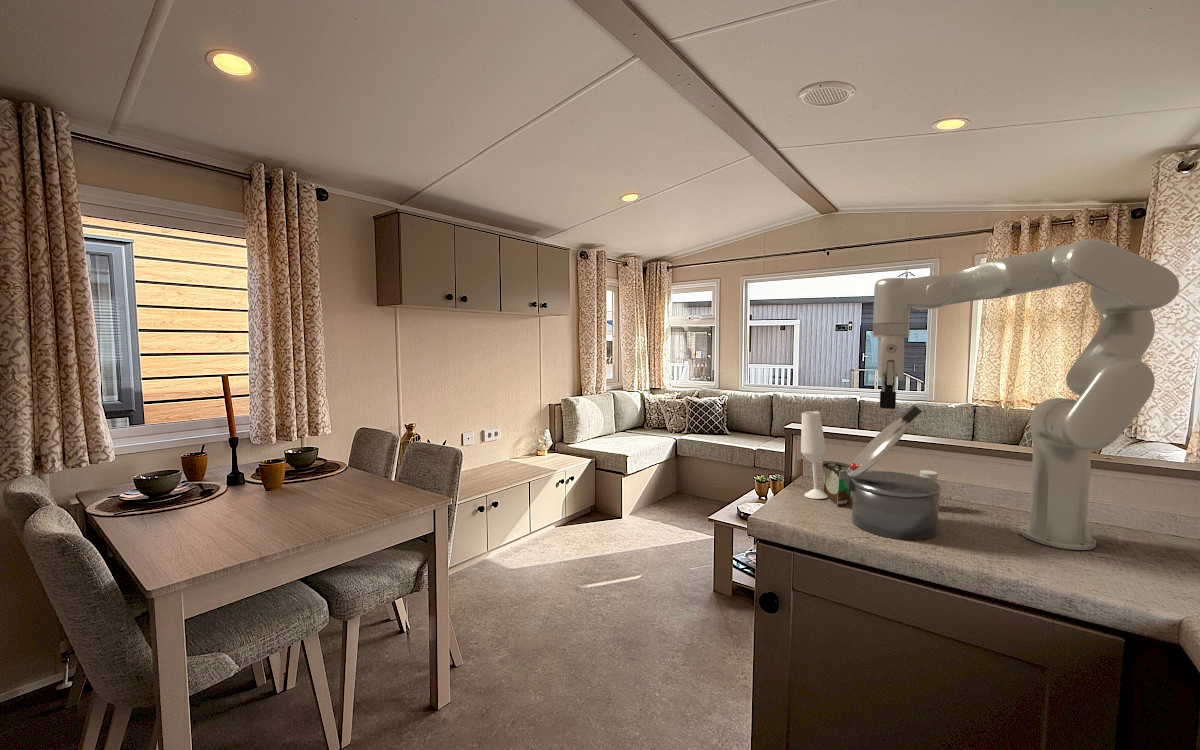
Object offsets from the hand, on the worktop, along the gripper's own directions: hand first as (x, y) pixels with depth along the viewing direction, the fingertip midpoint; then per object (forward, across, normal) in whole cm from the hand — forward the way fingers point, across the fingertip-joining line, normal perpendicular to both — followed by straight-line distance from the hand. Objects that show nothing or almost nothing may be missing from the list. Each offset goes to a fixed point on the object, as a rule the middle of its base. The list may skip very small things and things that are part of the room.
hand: (887, 407), depth 122 cm
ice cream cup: (+29, +15, +9) cm, 34 cm away
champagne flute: (+29, +17, +16) cm, 37 cm away
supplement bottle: (+29, +18, -11) cm, 36 cm away
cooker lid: (+9, 0, 0) cm, 9 cm away
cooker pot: (+29, 0, -2) cm, 29 cm away
